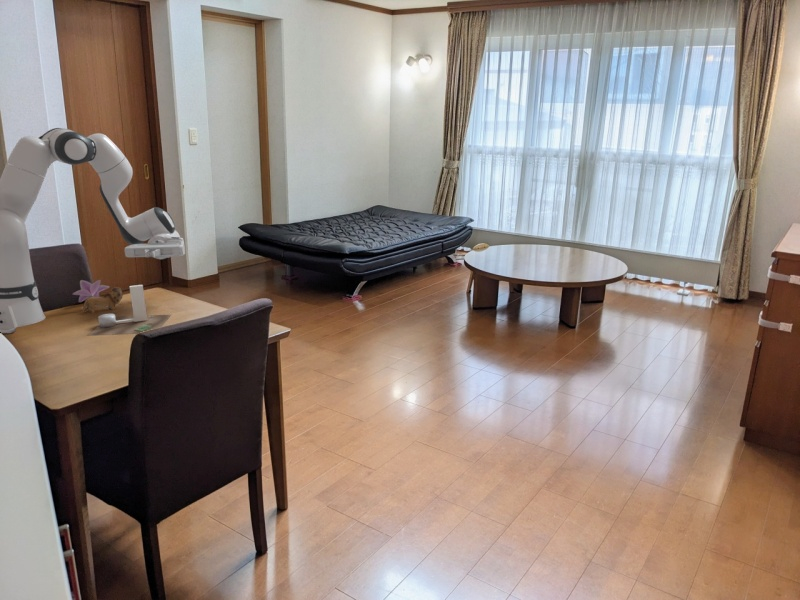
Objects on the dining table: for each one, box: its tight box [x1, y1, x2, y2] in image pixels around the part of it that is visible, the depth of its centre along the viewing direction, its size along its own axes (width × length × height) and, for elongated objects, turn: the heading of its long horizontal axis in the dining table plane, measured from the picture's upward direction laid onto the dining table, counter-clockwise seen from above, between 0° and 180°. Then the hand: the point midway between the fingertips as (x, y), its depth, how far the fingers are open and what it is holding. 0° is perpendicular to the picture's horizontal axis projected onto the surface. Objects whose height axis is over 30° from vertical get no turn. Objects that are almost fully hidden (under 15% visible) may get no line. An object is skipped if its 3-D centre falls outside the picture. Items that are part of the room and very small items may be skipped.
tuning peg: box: [97, 284, 147, 327], centre depth 197 cm, size 14×5×12 cm, turn 116°
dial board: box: [86, 314, 172, 336], centre depth 197 cm, size 21×19×2 cm
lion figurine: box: [82, 286, 124, 314], centre depth 212 cm, size 15×5×9 cm, turn 130°
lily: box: [72, 279, 110, 303], centre depth 225 cm, size 12×12×10 cm
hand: (149, 254), depth 208 cm, fingers closed
